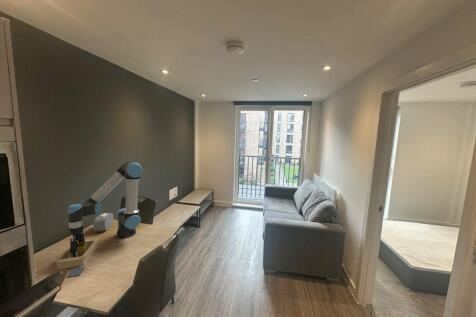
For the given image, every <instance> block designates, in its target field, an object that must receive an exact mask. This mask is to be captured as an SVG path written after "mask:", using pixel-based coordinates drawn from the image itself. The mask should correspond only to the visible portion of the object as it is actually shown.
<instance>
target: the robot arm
mask: <svg viewBox="0 0 476 317" xmlns="http://www.w3.org/2000/svg"><path fill="white" fill-rule="evenodd" d="M143 172H144V171H143V167H142V165H141V164H140V163H138V162H134V161H125V162H124V163H122V164H121V165H120V166H119V167H118V168H117V169H116V170H115V173H114V174H112V176H110V178H108V179H107V180H106V181H105V182H104V184H102V185H101V186H100V187H99V188H98V189H97V190H96V191H95V192H94V193H93V194H91V196H89V198H88V199H85V200H83V201H82V203H74V204H70V205H69V206H68V207H67V219H68V226H69V234H71V235H72V237H71V238H70V239H69V241H70V242H69V245H70V253H72V257H73V258H74V257H78V254H77V244H78V242H79V243H80V242H85V240H86V239H85V235H84V221H83V220H84V219H83V217H88V216H94V215H98V214H102V213H103V205H102V203H101V202H102V200H103V199H105V197H107V196H108V194H109V193H110V192H111V191H112V190H114V188H116V186H118V184H119V183H121V182H122V180H125V181H126V182H125V183H126V188H125V207H124V208H120V209H118V210H117V211H116V212H117V226H118V227H117V231H116V234H115V236H116V237H117V238H118V239H126V238H130V237H132V236H134V235H135V234H136V233H137V229H136V228H138V227H139V225H140V224H141V222H142V219H141V216H140V210H139V209H138V200H139V199H138V198H139V197H138V196H139V195H138V194H139V181H140V180H141V176H142V174H143Z"/></svg>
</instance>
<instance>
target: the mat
mask: <svg viewBox="0 0 476 317" xmlns="http://www.w3.org/2000/svg"><path fill="white" fill-rule="evenodd" d="M69 269H70V271H69V273H68V275H67V277H68V278H70V277H69V276H74V277H78V276H81V274H82V273H83V272H84V270H85V269H86V266H79V267H73V268H69ZM67 277H66V278H65V279H68V278H67Z"/></svg>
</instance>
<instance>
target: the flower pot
mask: <svg viewBox="0 0 476 317" xmlns="http://www.w3.org/2000/svg"><path fill="white" fill-rule="evenodd" d="M86 244H87V241H85V242H80V243H78V244H77V254H78V257H80V256H83V255H84V253H85V252H86V251H87V249H86ZM69 253H70V248H69ZM70 258H73V257H72V253H70Z"/></svg>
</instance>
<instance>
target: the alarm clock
mask: <svg viewBox="0 0 476 317" xmlns="http://www.w3.org/2000/svg"><path fill="white" fill-rule="evenodd" d="M113 224H114V214H113V212H108V213H107V212H105V213H99V215H97V216H96V217H95V218H94V220H93V224H92V226H93V231H94V232H97V231H98V232H105V231H104V230H106V231H108V230H109V229H110V228H111V226H113Z"/></svg>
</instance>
